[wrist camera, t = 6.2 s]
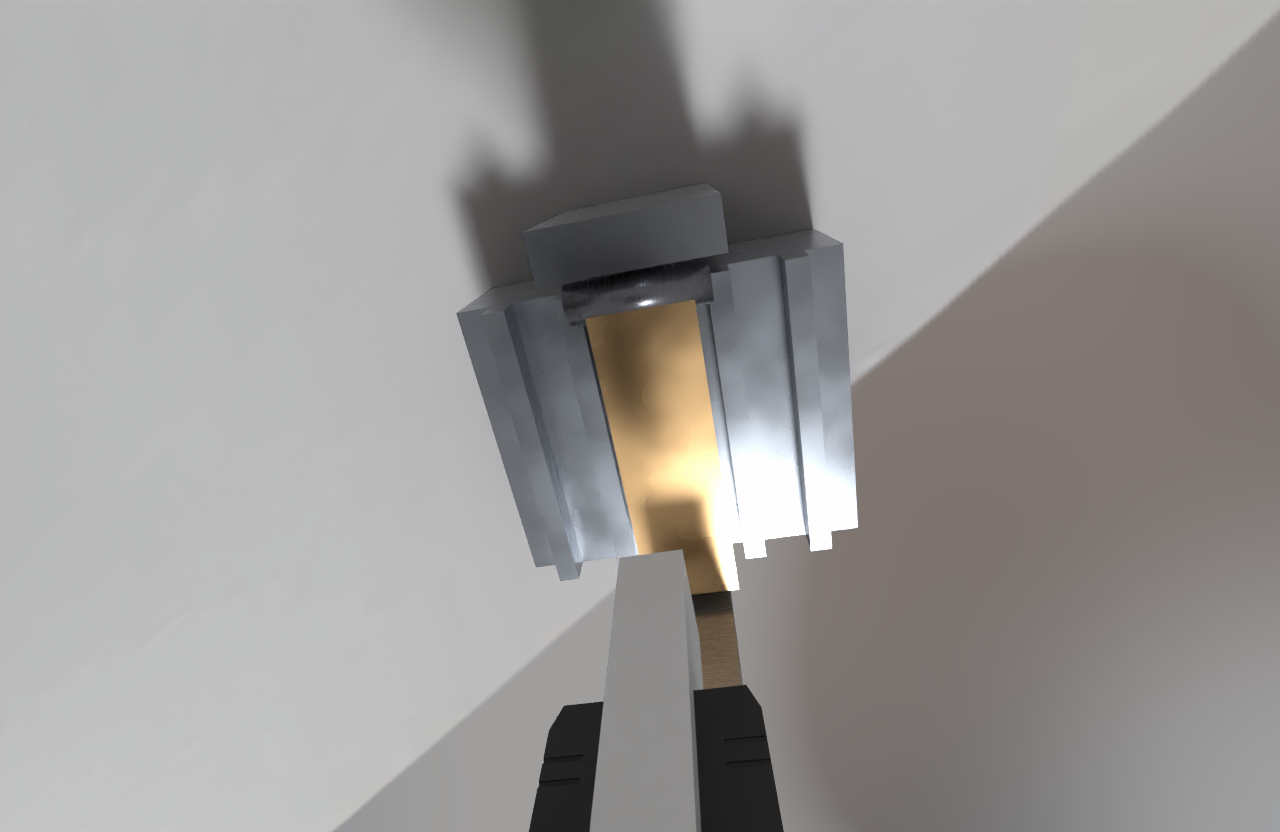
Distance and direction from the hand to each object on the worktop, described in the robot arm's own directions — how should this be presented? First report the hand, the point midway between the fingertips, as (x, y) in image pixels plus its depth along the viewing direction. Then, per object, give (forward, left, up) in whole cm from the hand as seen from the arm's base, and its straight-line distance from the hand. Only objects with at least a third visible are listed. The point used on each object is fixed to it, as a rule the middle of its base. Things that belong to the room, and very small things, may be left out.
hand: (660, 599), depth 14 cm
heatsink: (0, +1, -11) cm, 11 cm away
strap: (0, +2, -5) cm, 6 cm away
